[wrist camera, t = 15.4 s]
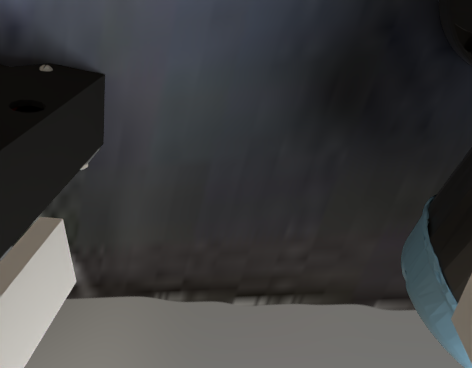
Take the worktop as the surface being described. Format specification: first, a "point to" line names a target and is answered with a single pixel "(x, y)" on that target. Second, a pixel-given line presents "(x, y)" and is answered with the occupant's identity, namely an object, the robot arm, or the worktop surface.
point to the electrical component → (44, 138)
